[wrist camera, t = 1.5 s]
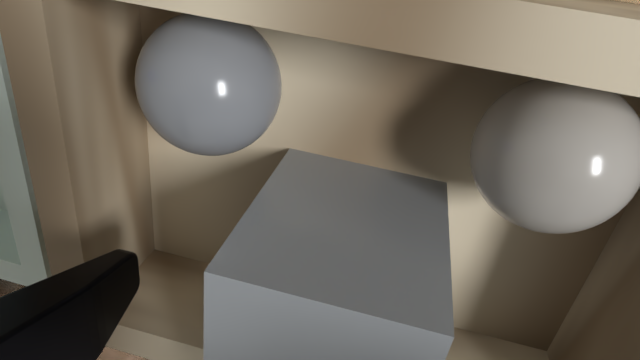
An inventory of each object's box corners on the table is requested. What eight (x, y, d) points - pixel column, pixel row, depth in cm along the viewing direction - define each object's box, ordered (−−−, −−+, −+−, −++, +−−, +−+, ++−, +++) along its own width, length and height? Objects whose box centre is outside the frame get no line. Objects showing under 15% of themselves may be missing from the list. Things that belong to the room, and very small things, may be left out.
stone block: (446, 182, 11) (454, 337, 7) (409, 302, 13) (397, 481, 9) (290, 148, 12) (203, 271, 7) (276, 267, 14) (202, 421, 9)
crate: (772, 25, 9) (952, 71, 6) (565, 369, 14) (602, 492, 11) (107, -81, 10) (-26, -89, 7) (136, 256, 15) (63, 334, 12)
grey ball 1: (304, 14, 10) (258, 39, 7) (291, 137, 11) (248, 195, 9) (178, -9, 10) (92, 8, 8) (180, 113, 12) (109, 162, 9)
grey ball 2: (641, 74, 9) (723, 127, 6) (579, 199, 11) (626, 284, 8) (489, 46, 9) (509, 87, 7) (449, 171, 11) (454, 244, 8)
